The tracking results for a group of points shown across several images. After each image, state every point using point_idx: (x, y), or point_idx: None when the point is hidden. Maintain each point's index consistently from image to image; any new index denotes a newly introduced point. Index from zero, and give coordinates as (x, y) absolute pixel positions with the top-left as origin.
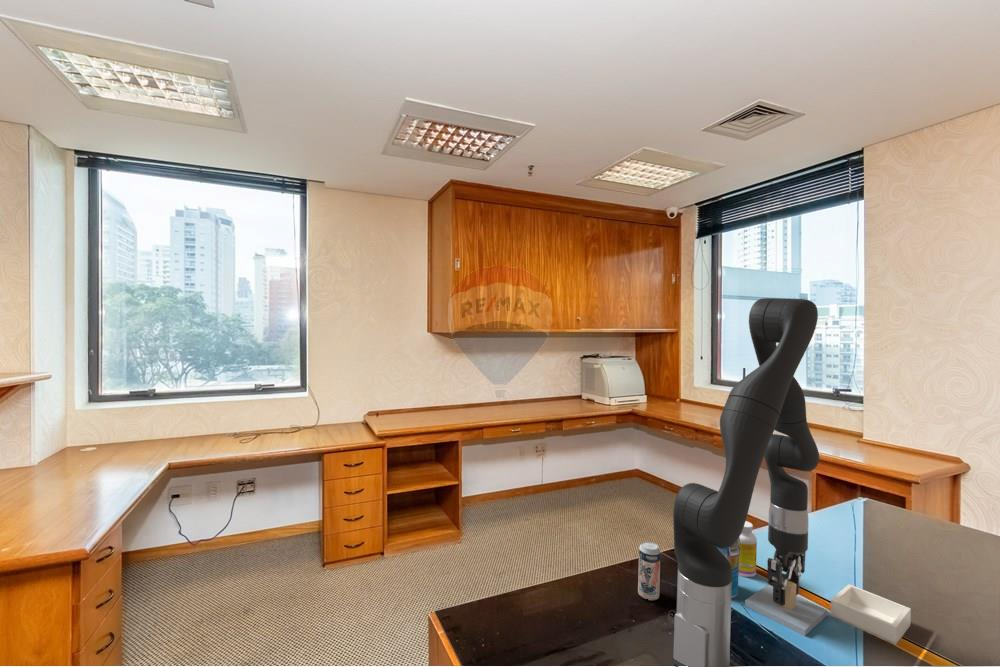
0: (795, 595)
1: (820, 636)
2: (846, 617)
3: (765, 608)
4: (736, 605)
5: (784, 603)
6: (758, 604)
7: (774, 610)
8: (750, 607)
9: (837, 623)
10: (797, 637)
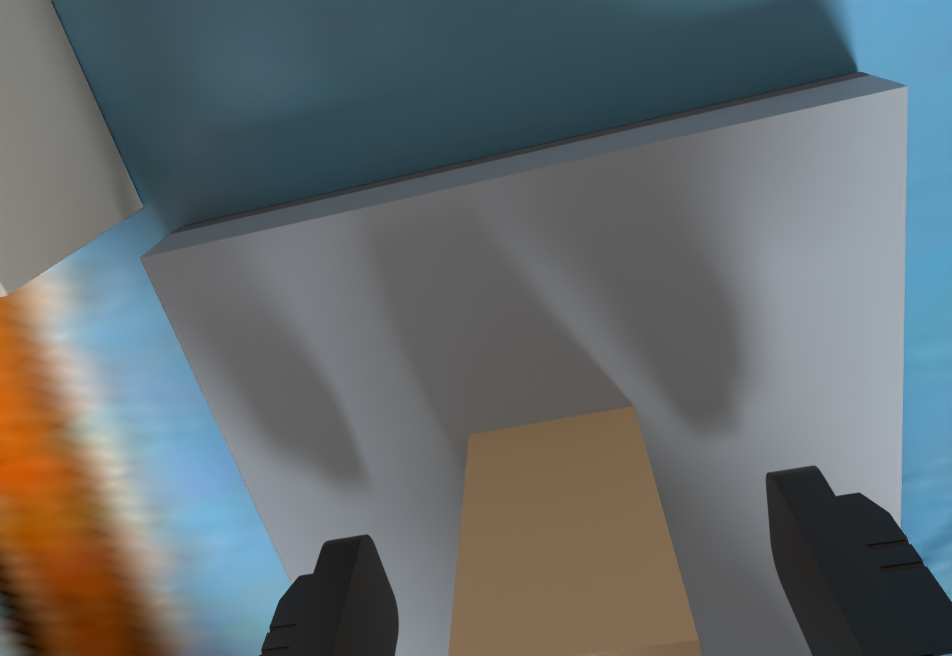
0: (485, 527)
1: (636, 15)
2: (13, 51)
3: None
4: None
5: (800, 480)
6: None
7: None
8: None
9: (161, 104)
10: (927, 113)
